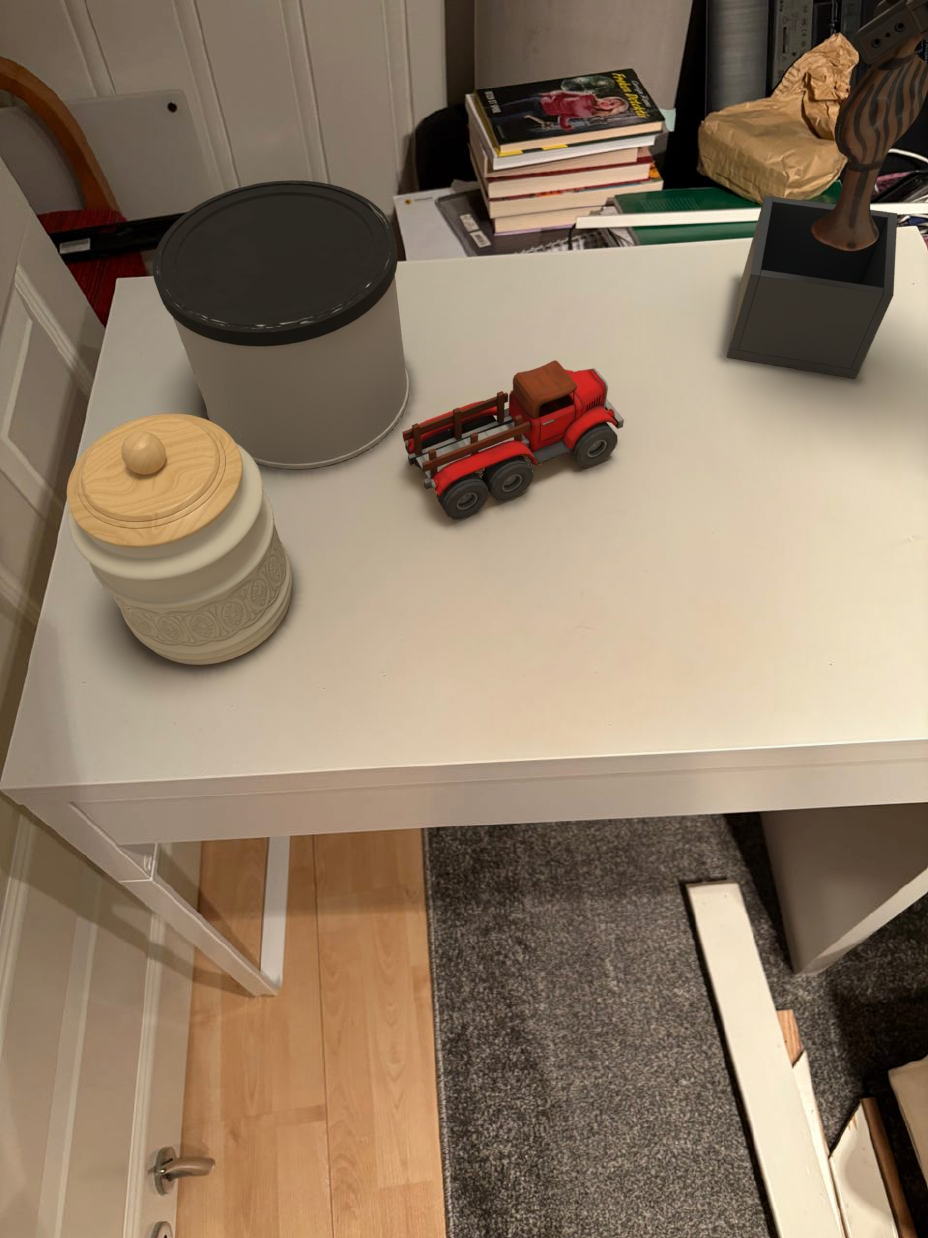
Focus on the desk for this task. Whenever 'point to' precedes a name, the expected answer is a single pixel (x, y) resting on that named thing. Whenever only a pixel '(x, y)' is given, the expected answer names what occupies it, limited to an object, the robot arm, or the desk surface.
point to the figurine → (872, 139)
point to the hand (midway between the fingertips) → (871, 35)
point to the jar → (181, 537)
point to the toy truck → (513, 437)
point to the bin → (811, 292)
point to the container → (289, 318)
